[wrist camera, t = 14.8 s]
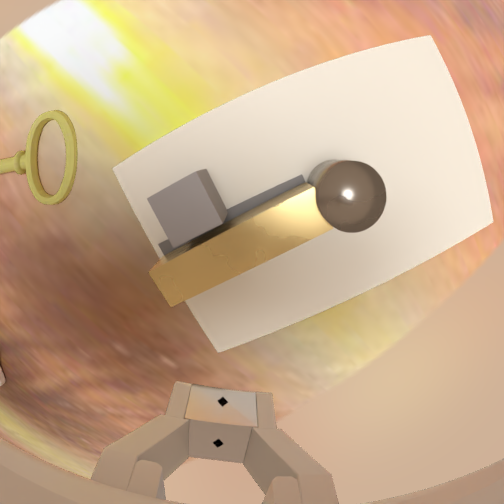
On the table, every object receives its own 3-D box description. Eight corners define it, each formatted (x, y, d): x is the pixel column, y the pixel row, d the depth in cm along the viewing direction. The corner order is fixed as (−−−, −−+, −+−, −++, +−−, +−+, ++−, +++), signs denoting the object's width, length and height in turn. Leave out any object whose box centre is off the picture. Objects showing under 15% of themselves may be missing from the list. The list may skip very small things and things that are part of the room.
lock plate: (219, 344, 23) (212, 380, 19) (119, 167, 19) (87, 171, 15) (484, 218, 19) (518, 232, 15) (422, 39, 15) (453, 21, 11)
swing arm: (348, 150, 17) (369, 149, 14) (371, 202, 18) (395, 214, 14) (158, 247, 19) (138, 267, 16) (186, 293, 20) (173, 321, 17)
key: (-18, 167, 19) (-33, 170, 17) (70, 101, 18) (55, 98, 16) (2, 236, 21) (-13, 243, 19) (94, 186, 20) (79, 190, 18)
